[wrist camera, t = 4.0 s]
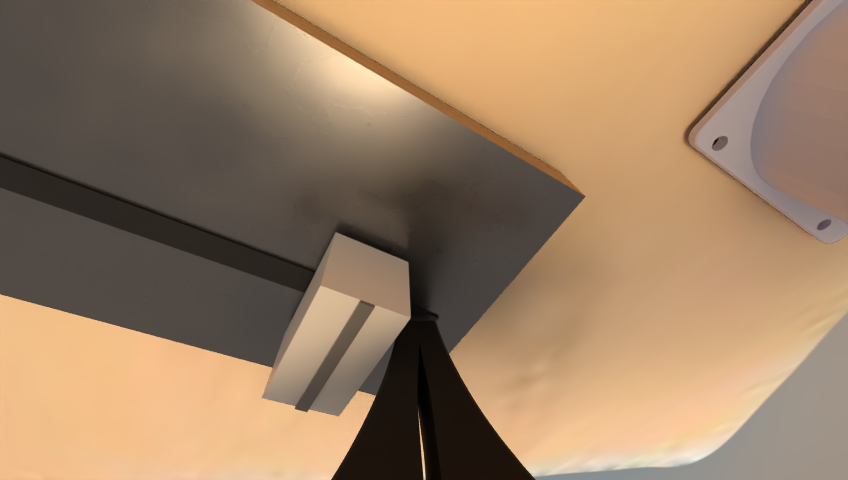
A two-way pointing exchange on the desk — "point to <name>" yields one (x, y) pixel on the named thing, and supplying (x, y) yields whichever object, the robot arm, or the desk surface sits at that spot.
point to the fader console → (241, 173)
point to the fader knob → (341, 327)
